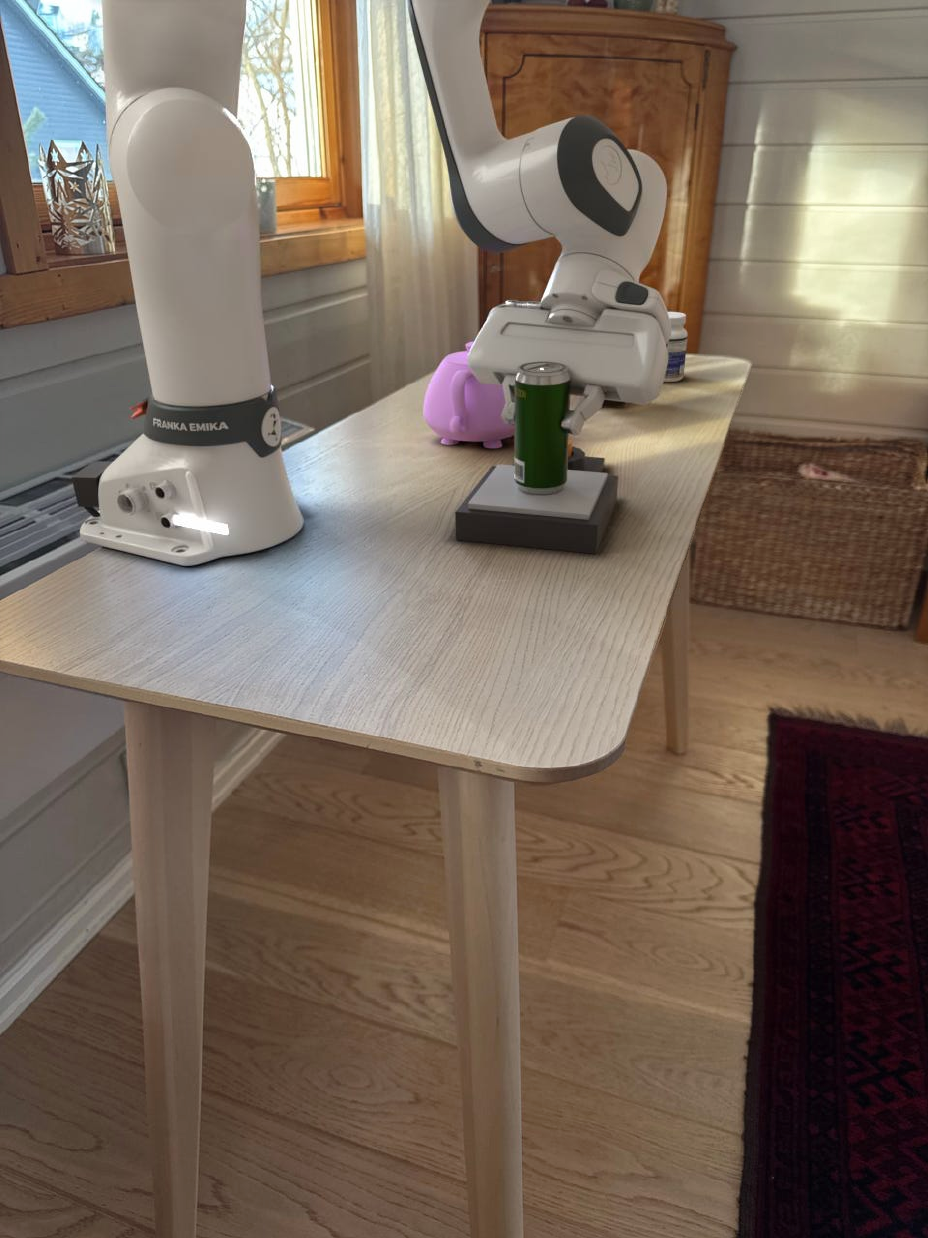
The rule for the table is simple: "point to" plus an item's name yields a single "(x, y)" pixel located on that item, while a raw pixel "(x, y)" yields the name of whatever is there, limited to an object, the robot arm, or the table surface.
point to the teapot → (464, 404)
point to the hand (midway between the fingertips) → (539, 426)
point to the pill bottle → (676, 347)
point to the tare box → (584, 462)
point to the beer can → (541, 427)
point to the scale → (538, 512)
